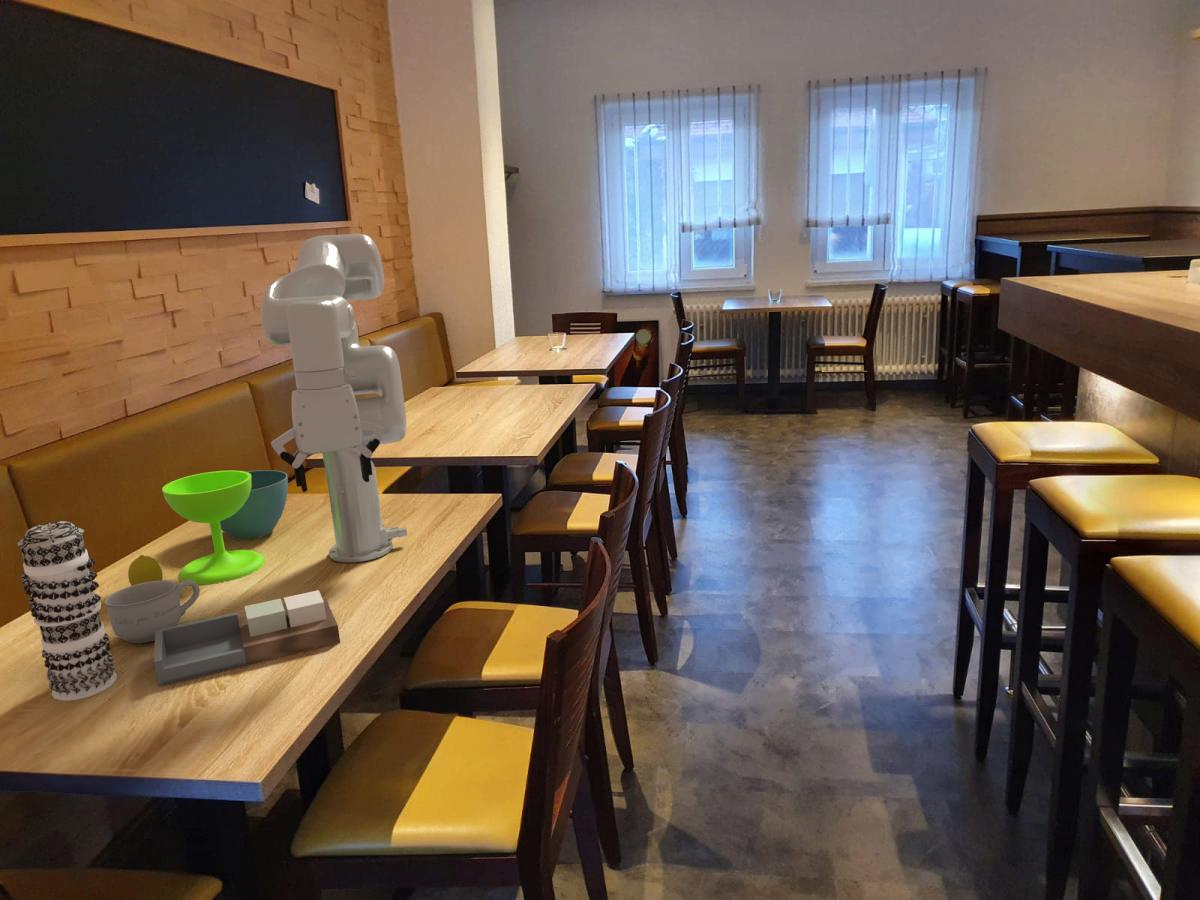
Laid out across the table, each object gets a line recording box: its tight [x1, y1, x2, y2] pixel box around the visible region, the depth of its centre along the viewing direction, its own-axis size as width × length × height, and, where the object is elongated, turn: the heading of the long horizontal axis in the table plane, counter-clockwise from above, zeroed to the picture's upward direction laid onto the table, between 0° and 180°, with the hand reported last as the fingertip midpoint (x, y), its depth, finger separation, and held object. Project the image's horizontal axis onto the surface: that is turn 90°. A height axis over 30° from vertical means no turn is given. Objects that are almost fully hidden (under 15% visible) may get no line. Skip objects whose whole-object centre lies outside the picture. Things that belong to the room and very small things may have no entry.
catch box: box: [153, 611, 247, 688], centre depth 133 cm, size 12×12×4 cm
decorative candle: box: [17, 520, 118, 702], centre depth 124 cm, size 9×9×25 cm
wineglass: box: [161, 470, 266, 585], centre depth 169 cm, size 16×16×18 cm
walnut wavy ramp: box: [238, 597, 341, 666], centre depth 139 cm, size 14×12×3 cm
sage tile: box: [244, 598, 287, 637], centre depth 137 cm, size 6×6×3 cm
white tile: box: [283, 589, 326, 627], centre depth 139 cm, size 6×6×3 cm
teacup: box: [104, 579, 201, 644], centre depth 143 cm, size 14×11×8 cm
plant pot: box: [220, 469, 289, 541], centre depth 189 cm, size 18×18×12 cm
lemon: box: [127, 554, 164, 586], centre depth 159 cm, size 6×6×8 cm
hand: (335, 485), depth 138 cm, fingers open, 9 cm apart
